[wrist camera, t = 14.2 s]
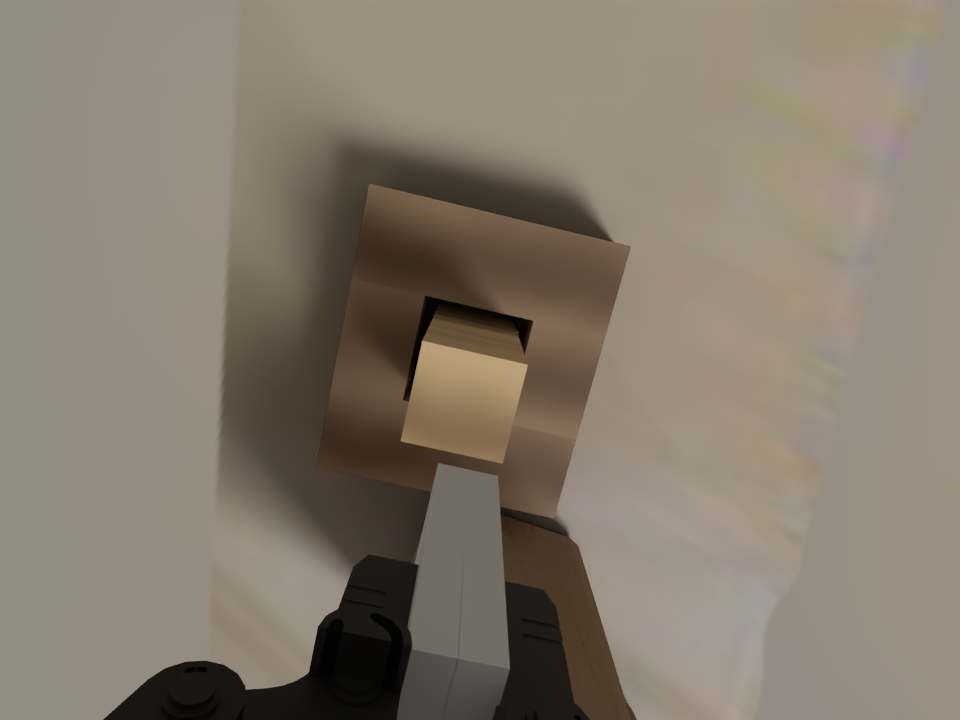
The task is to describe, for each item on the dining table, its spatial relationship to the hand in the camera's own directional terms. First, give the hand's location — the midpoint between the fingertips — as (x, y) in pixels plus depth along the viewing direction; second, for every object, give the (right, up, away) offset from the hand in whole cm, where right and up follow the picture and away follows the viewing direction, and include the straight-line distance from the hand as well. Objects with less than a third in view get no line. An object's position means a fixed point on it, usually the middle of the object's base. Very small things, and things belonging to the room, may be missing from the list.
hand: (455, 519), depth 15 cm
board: (0, +5, +23) cm, 23 cm away
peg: (0, +5, +23) cm, 23 cm away
